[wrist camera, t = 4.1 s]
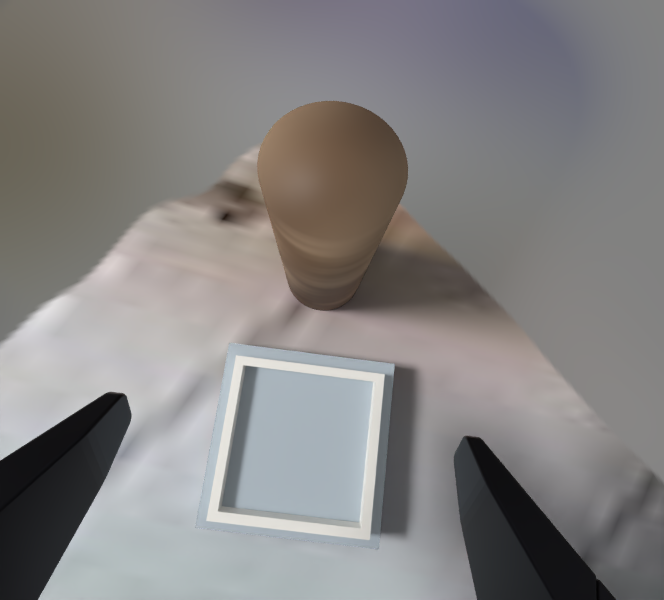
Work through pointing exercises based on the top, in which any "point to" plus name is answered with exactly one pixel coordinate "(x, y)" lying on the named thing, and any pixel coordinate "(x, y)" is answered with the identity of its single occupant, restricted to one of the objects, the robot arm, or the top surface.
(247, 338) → the top surface
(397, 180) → the walnut pillar
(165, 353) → the top surface
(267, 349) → the base plate
